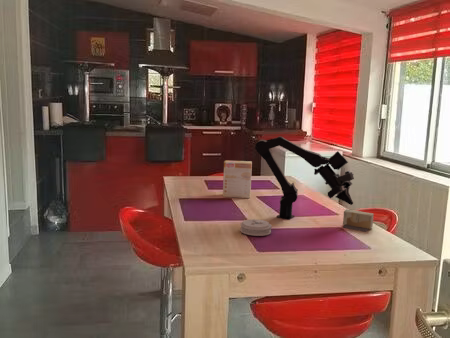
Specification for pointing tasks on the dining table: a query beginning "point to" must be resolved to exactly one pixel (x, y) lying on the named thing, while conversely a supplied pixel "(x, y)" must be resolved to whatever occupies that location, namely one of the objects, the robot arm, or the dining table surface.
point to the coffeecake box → (237, 179)
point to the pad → (356, 228)
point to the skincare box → (358, 218)
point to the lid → (255, 227)
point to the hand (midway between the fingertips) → (352, 204)
